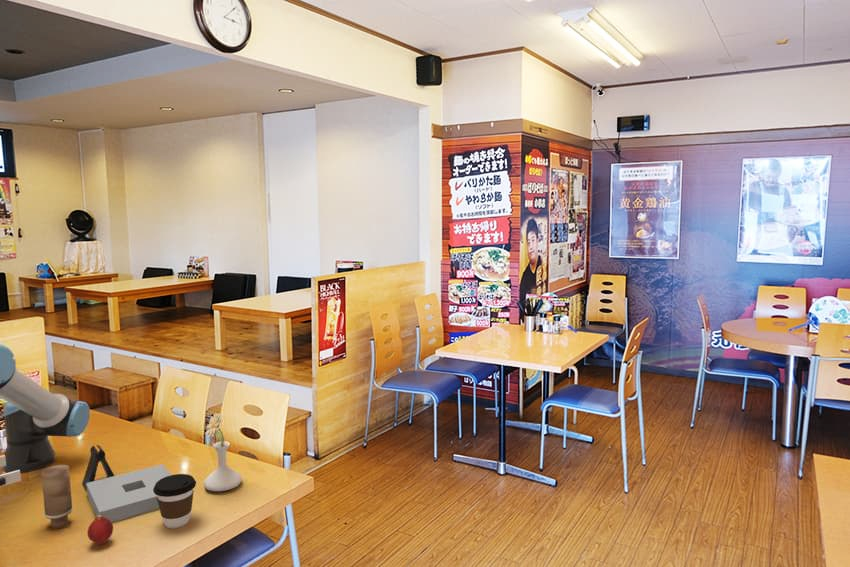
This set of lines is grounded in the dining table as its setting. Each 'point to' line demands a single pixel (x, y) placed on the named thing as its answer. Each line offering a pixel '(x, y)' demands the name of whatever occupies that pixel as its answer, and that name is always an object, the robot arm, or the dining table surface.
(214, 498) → the dining table surface
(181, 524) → the coffee cup
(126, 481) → the slate board
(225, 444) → the flower in vase
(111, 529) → the onion
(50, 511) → the walnut peg
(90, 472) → the phone stand
